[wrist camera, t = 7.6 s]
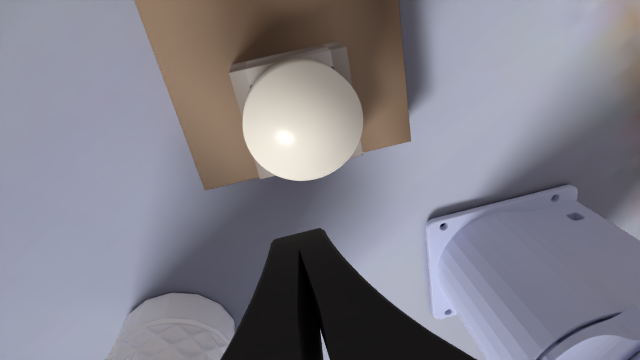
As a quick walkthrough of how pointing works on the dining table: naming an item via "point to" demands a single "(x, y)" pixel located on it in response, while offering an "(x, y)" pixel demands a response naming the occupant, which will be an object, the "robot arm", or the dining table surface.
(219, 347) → the white cup
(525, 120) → the dining table surface
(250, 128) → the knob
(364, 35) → the knob mount
